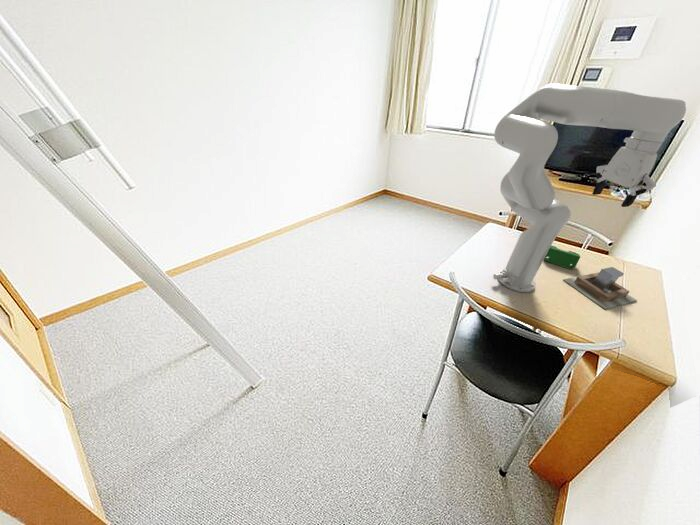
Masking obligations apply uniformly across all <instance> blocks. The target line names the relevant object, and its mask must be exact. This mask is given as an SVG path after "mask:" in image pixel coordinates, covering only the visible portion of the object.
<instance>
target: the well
mask: <svg viewBox="0 0 700 525" xmlns="http://www.w3.org/2000/svg"><path fill="white" fill-rule="evenodd" d="M598 274H599V272H596V273H595V272H594V273H593V272H592V273H587V274H582V275H579V276H573V277H568V278H564V279H563V282H565V283H566V284H567V285H569V286H571V287H572V288H573V287H574V288H573V289H574V290H576V289H577V290H578V291H577V290H576V291H577V292H578V293H580V294H582V295H583V296H585V297H586V298H587V299H589V300H590V301H591V302H593V303H594V304H596V305H598V306H599V307H600V308H602V309H604V310H608V309H613V308H615V307H619V306H623V305H628V304H631V303H635V302H637V301H638V299H636V298H634V297H633V296H631V295H630V294H629V293H630V290H628V289H626V288H625V287H624V286H622V285H620V284H619V283H617V282H615V283H614V285H613V286H612V287H611V289H610V290H609V292H606V293H605V292H604V291H602V290H601V289H599V288H598V287H596V286H595V285H593V284H592V283H593V281H594V280H595V278H596V277H597V275H598Z"/></svg>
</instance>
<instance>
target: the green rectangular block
mask: <svg viewBox="0 0 700 525" xmlns="http://www.w3.org/2000/svg"><path fill="white" fill-rule="evenodd" d="M580 258H581V255H580V254H579V253H577V252H574V251H571V250H568V251H567V250H563V249H560V248H558V247H557V246H554V245H551V247H550V249H549V250H548V252H547V254H546V256H545V258H544V260H543V261H544V262H546V263H551V264H553V265H557V266H560V267H563V268H566V269H568V270H569V269H570V270H572V269H575V268H576V266H577V265H578V262H579V261H580Z"/></svg>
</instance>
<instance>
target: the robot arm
mask: <svg viewBox="0 0 700 525" xmlns="http://www.w3.org/2000/svg"><path fill="white" fill-rule="evenodd" d="M686 106H687V105H686V102H685V101H684V100H683V99H679V98H678V99H677V98H669V97H668V98H667V97H659V96H649V95H641V94H637V93H634V92H633V93H632V92H628V91H625V90H617V89H608V88H600V87H599V88H598V87H590V86H581V85H573V84H565V83H556V82H555V83H554V82H553V83H552V82H551V83H549V84H545V85H544V86H542V87H540V88H539V89H537V90H536V91H534V92H533V93H532V94H530V95H529V96H527V97H526V98H525V99H524V100H523V101H521V102H520V103H519V104H518V105H516V106H515V107H514V108H512V110H509V112H507V114H505V115H504V116H503V117H502V118H501V119H500V120H499V122H498V123H497V125H496V126H495V130H494V140H495V142H496V144H498V145H499V146H500V147H502V148H505V149H507V150H509V151H512V152H515V153H518V154H519V156H518V157H517V159H516V161H515V162H514V164H513V165H512V167H511V168H510V169H509V171H508V172H507V173H506V174H505V175H504V176H503V178H502V179H501V181H500V188H499V189H500V194H501V195H502V197H503V198H504V200H505V201H506V203H507V204H508V206H509V207H510V209H511V210H512V211H513V212H514V213H515V214H516V215H517V216H519V217H521V218H522V219H523V220H525V221H527V222H528V223H529V224H531V226H530V227H528V228H526V229H525V230H523V231H522V232H521V233H520V235H519V237H518V239H517V242H516V243H515V245H514V248H513V250H512V252H511V255H510V256H509V259H508V261H507V264H506V266H505V268H503V269H501V270H499V271H498V272H497V273H495V274H493V277H492V278H493V279H494V280H498V281H499V282H500V284H502V285H503V286H504V287H505V288H508V289H509V290H512V291H515V292H518V293H519V292H520V293H530V292H533V291H534V289H535V288H536V281H535V280H534V279H535V277H536V275H537V273H538V271H539V270H540V268H541V266H542V264H543V262H544V261H545V260H544V258H545V256H546V254H547V252H548V250H549V249H550V247H551V246H553V243H554V241H555V240H556V238H557V236H558V235H559V234H560V232H561V231H562V230H563V229H564V228H565V226H566V225H567V223H568V222H569V220H571V210H570V207H569V206H568V205H567V204H565V203H564V202H562V201H561V200H558V199H556V198H555V197H556V193H555V188H554V185H553V184H552V182H551V180H550V178H549V176H548V173H546V168H545V165H546V164H547V161H548V159H549V158H550V156H551V155H552V153H553V151H554V150H555V148H556V146H557V144H558V140H559V134H558V130H557V128H556V127H555V126H554V124H551V123H550V122H553V123H556V124H561V125H566V126H567V125H568V126H580V127H581V126H583V127H597V128H598V127H599V128H606V129H612V130H628V131H633V132H632V133H631V136H629V137H625V138H624V139H623V143H625V146H620V148H619V149H618V150H617V151H616V153H615V154H614V155H613V156H612V158H611V160H610V161H609V162H608V164H604V165H600V166H599V165H598V166H596V174H595V177H596V185H595V187H594V188H593V191H592V193H591V195H594V196H595V195H596V196H597V195H601V194H602V192H603V190H604V189H605V186H606V185H607V182H608V181H609V182H611V183H614V184H617V185H620V186H623V187H626V188H629V191H630V193H629V194H627V195H626V196H625V198H624V200H623V201H622V202H621V205H620V206H621V207H623V208H627V207H630V206H631V205H633V203H634V202H635V200H636V199H637V197H638V196H641V195H643V194H645V193H648V192H649V191H651V190H653V189H654V188H655V187H657V184H656V183H655V182H654V180H653V179H652V178H651V177H650V173H651V172H652V169H653V167H654V166H655V163H656V161H657V157H658V154H657V152H658V151H659V149H660V147H661V146H662V144H663V143H664V141H665V139H666V138H667V137H668V134H669V133H670V131H671V130H672V129H673V128H675V127H676V126H678V124H680V122H682V120H683V119H684V117H685V114H686V111H687V107H686ZM644 183H645V186H644V187H643V188H641V186H643V184H644Z"/></svg>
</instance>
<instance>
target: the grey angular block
mask: <svg viewBox="0 0 700 525" xmlns="http://www.w3.org/2000/svg"><path fill="white" fill-rule="evenodd" d="M598 273H599V274H598V275H597V277H596V278H595V280H594V281H593V283H592V284H593V285H595V286H596V287H598V288H599V289H601V290H602V291H604V292H605V293H606V292H609V290H610V289H611V287H612V286H613V285H614V283H617V281H618V279H619V278H620V277H623V276H624V274H625V273H624V272H622V271H620V270H619V269H617V268H616V267H614V266H609V267H604V268H601V269H600V270H599V272H598Z"/></svg>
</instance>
